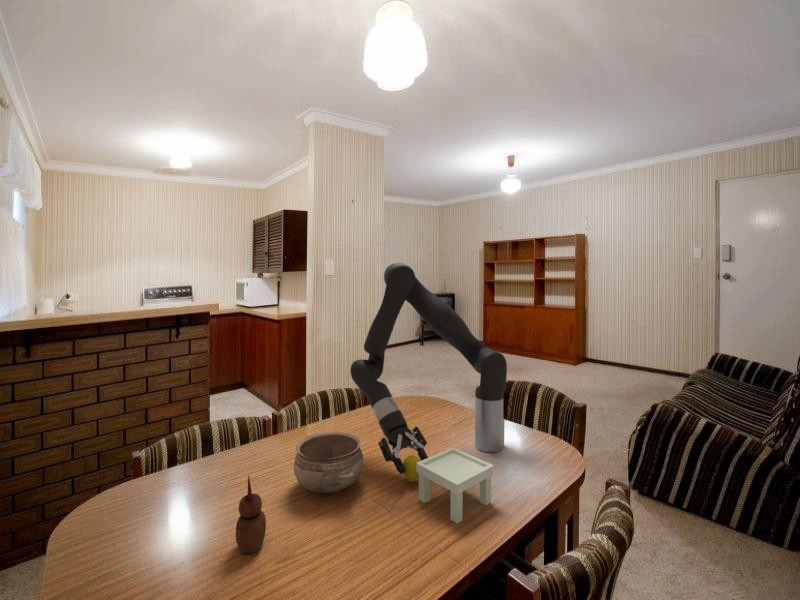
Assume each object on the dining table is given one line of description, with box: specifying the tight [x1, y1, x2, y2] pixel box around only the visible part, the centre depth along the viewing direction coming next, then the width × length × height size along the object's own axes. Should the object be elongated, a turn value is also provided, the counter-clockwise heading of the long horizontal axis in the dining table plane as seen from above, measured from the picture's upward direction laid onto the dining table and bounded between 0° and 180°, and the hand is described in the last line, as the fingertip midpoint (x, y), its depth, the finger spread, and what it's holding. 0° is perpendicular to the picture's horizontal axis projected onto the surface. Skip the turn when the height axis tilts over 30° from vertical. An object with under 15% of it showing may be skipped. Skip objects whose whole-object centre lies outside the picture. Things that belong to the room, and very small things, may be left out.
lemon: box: [402, 454, 421, 483], centre depth 111 cm, size 6×6×8 cm
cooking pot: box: [293, 431, 365, 495], centre depth 108 cm, size 25×19×12 cm
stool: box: [416, 447, 495, 524], centre depth 101 cm, size 14×14×10 cm
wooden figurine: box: [235, 475, 267, 554], centre depth 84 cm, size 7×6×15 cm
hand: (415, 467), depth 110 cm, fingers open, 8 cm apart
